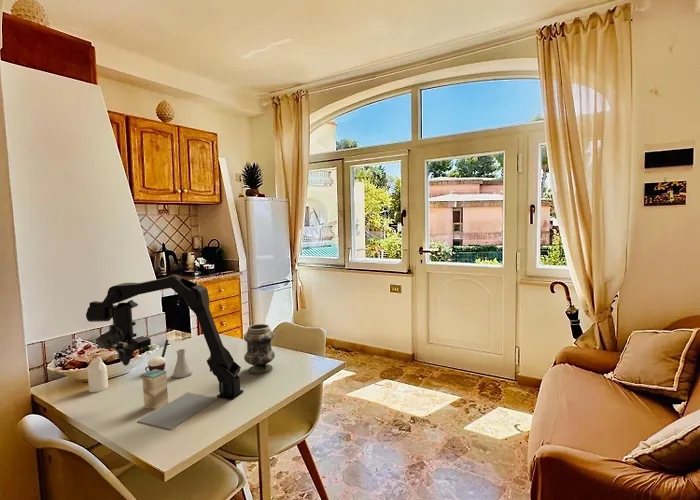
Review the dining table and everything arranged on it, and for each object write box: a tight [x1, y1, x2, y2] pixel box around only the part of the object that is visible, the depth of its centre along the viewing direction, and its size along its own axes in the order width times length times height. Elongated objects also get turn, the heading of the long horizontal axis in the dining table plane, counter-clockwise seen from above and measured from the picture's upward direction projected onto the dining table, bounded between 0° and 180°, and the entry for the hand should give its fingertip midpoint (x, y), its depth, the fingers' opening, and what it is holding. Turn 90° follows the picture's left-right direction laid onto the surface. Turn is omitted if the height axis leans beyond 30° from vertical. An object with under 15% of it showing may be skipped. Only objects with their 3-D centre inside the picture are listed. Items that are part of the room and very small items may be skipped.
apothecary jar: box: [243, 323, 276, 375], centre depth 152 cm, size 12×12×18 cm
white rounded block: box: [86, 356, 109, 393], centre depth 138 cm, size 6×12×6 cm
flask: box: [171, 348, 194, 379], centre depth 149 cm, size 7×7×10 cm
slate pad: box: [136, 391, 219, 431], centre depth 122 cm, size 14×20×1 cm
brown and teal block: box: [141, 369, 169, 411], centre depth 125 cm, size 5×5×11 cm
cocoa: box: [145, 339, 169, 373], centre depth 153 cm, size 10×6×12 cm, turn 119°
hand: (126, 365), depth 129 cm, fingers closed
